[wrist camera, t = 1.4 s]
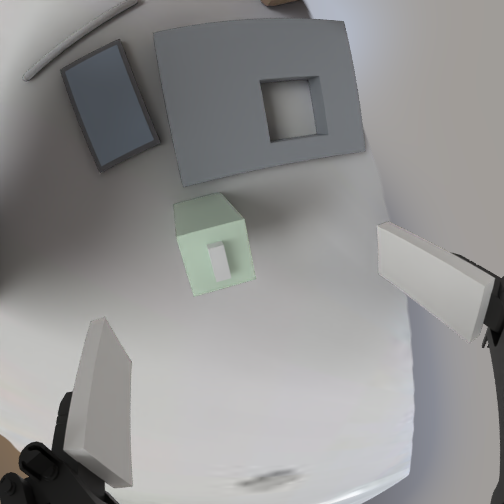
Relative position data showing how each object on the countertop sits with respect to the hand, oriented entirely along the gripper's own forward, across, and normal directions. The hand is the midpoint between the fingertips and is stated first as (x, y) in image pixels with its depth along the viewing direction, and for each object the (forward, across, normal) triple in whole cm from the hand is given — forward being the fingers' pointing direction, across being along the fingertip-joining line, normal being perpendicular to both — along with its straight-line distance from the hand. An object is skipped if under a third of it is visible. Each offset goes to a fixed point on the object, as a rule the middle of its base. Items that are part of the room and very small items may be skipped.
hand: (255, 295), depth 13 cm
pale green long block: (+17, -1, -1) cm, 17 cm away
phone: (+17, -6, +12) cm, 22 cm away
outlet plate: (+17, +8, +9) cm, 21 cm away
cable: (+17, -8, +20) cm, 27 cm away
